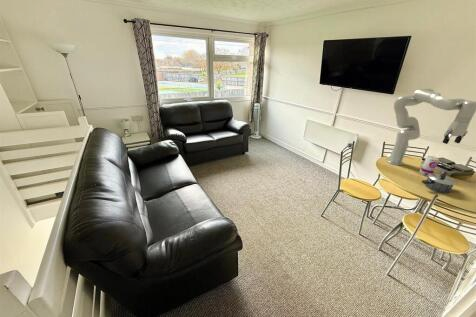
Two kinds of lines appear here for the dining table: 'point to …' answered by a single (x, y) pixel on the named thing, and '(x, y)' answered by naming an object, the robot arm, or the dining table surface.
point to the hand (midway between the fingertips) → (450, 142)
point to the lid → (441, 178)
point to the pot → (437, 186)
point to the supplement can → (429, 165)
